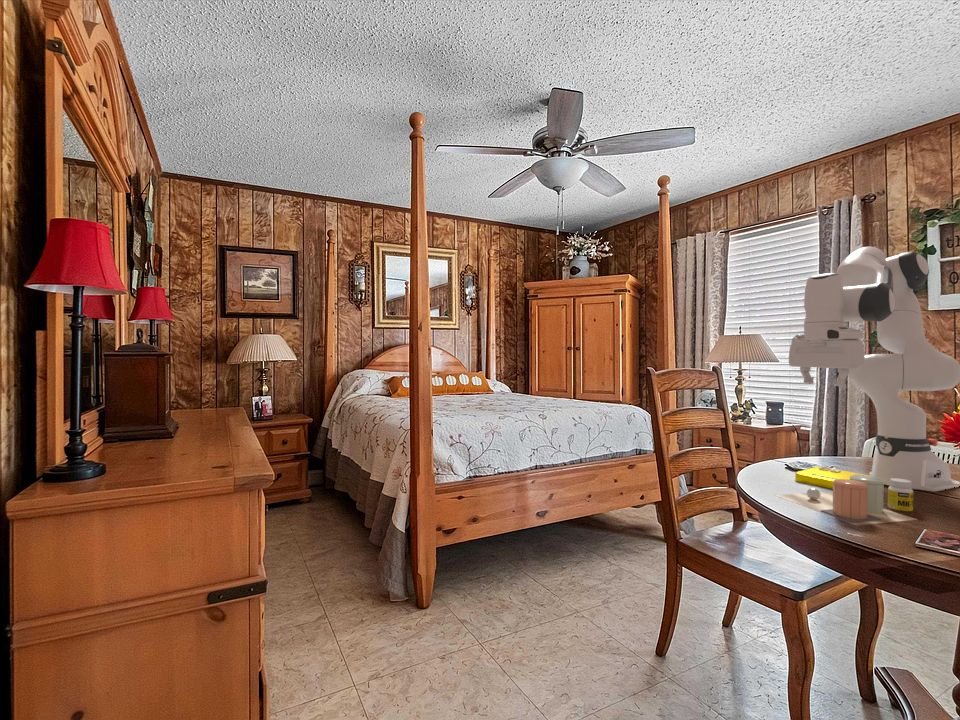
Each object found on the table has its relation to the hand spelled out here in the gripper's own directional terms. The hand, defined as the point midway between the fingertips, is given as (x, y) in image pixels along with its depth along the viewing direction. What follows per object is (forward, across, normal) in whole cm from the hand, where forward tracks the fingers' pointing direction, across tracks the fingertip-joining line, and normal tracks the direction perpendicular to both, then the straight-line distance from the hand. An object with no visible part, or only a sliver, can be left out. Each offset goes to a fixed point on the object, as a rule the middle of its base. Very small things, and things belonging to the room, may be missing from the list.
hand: (823, 384), depth 132 cm
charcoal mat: (+30, +16, -9) cm, 35 cm away
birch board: (+31, +10, -5) cm, 33 cm away
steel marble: (+28, +4, -7) cm, 29 cm away
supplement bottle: (+31, +14, +8) cm, 35 cm away
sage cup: (+30, +13, -1) cm, 32 cm away
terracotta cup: (+29, +16, -9) cm, 35 cm away
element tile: (+32, -9, +13) cm, 35 cm away
